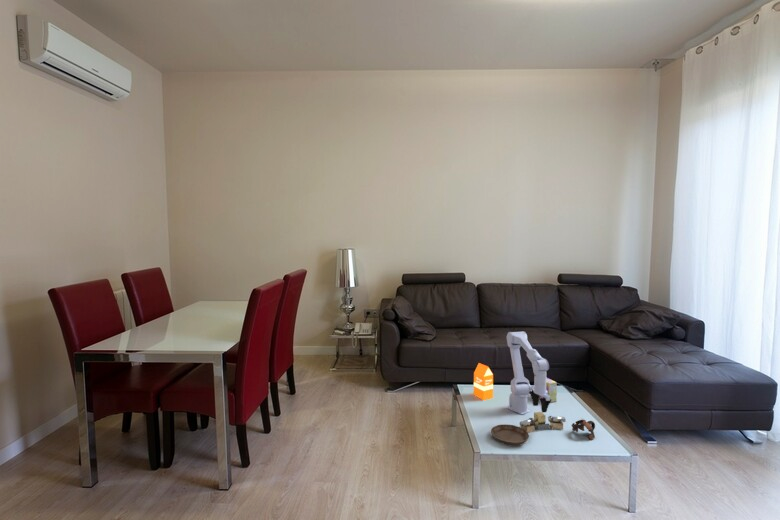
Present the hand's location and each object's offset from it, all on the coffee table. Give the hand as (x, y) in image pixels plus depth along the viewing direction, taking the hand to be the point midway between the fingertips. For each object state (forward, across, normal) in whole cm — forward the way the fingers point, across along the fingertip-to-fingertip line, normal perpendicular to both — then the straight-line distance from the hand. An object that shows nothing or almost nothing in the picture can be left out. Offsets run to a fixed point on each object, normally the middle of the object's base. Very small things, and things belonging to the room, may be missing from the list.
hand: (539, 408), depth 197 cm
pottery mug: (+10, -12, -17) cm, 23 cm away
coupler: (+9, 0, 0) cm, 9 cm away
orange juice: (+10, +41, +12) cm, 43 cm away
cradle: (+9, 0, 0) cm, 9 cm away
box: (+10, +30, -24) cm, 39 cm away
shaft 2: (+9, -2, -8) cm, 13 cm away
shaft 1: (+9, -2, +8) cm, 13 cm away
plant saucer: (+10, -8, +21) cm, 24 cm away
